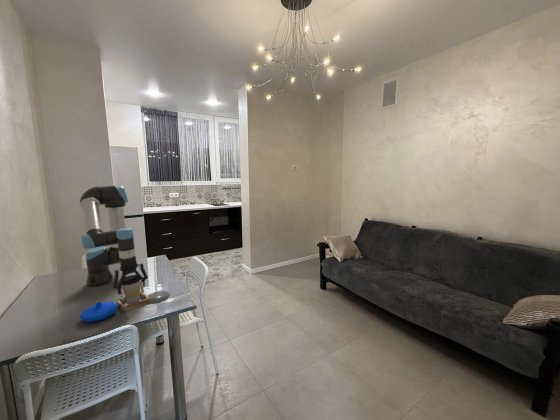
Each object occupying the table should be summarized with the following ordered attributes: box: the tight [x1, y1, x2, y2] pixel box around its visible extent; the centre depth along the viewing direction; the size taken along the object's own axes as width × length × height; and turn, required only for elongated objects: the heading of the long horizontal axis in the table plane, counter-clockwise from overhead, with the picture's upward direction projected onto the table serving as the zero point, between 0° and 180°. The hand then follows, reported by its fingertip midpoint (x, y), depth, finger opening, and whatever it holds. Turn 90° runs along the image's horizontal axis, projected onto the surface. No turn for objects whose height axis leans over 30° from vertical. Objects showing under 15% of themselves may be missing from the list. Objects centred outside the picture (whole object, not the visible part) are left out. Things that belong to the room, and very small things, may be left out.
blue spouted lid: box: [79, 301, 119, 323], centre depth 126 cm, size 16×16×7 cm
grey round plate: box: [143, 290, 170, 304], centre depth 144 cm, size 13×13×1 cm
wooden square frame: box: [115, 291, 151, 313], centre depth 138 cm, size 13×13×2 cm
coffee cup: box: [122, 274, 141, 306], centre depth 137 cm, size 9×9×15 cm
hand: (132, 295), depth 138 cm, fingers closed on coffee cup, 9 cm apart
